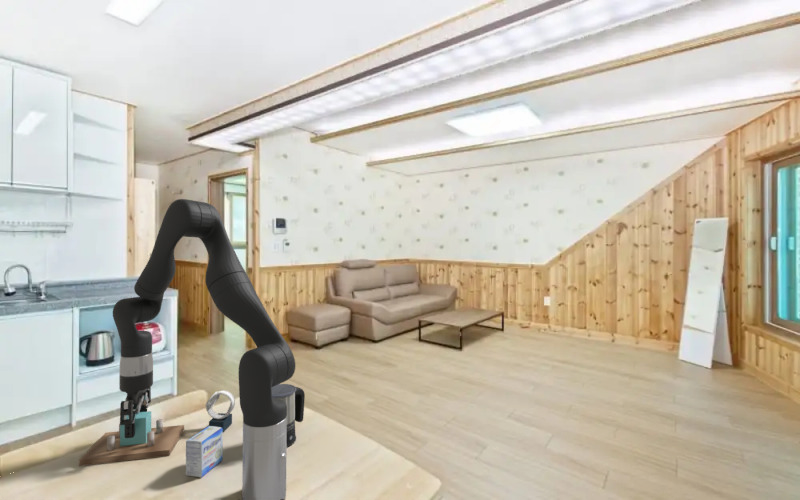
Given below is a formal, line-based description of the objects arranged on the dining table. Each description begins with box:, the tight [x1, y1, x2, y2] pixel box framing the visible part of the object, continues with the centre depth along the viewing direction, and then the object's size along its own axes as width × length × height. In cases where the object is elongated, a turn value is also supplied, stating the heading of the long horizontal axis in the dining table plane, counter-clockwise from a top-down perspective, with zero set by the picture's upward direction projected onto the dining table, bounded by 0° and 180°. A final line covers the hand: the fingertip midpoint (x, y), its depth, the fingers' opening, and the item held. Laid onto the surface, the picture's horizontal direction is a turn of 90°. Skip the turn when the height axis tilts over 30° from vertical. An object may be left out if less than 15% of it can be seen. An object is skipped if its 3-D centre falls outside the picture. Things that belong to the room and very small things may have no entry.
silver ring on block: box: [205, 389, 236, 433], centre depth 116 cm, size 6×8×11 cm
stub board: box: [78, 418, 185, 467], centre depth 105 cm, size 20×14×5 cm
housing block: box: [120, 410, 152, 446], centre depth 104 cm, size 6×4×7 cm, turn 105°
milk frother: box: [271, 383, 306, 448], centre depth 111 cm, size 14×16×15 cm
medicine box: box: [185, 425, 224, 478], centre depth 95 cm, size 8×4×9 cm, turn 168°
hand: (136, 429), depth 105 cm, fingers open, 8 cm apart
